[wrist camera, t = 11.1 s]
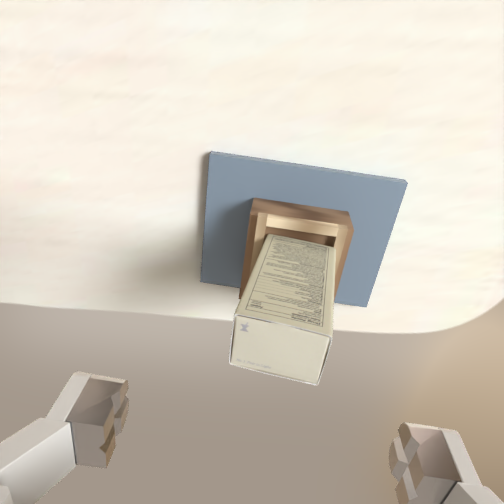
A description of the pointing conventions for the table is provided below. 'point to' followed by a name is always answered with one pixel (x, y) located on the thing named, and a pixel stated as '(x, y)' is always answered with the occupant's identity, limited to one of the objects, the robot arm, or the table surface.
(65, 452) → the robot arm
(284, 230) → the walnut tray
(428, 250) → the table surface
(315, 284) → the skincare box
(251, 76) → the table surface
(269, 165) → the blue board
